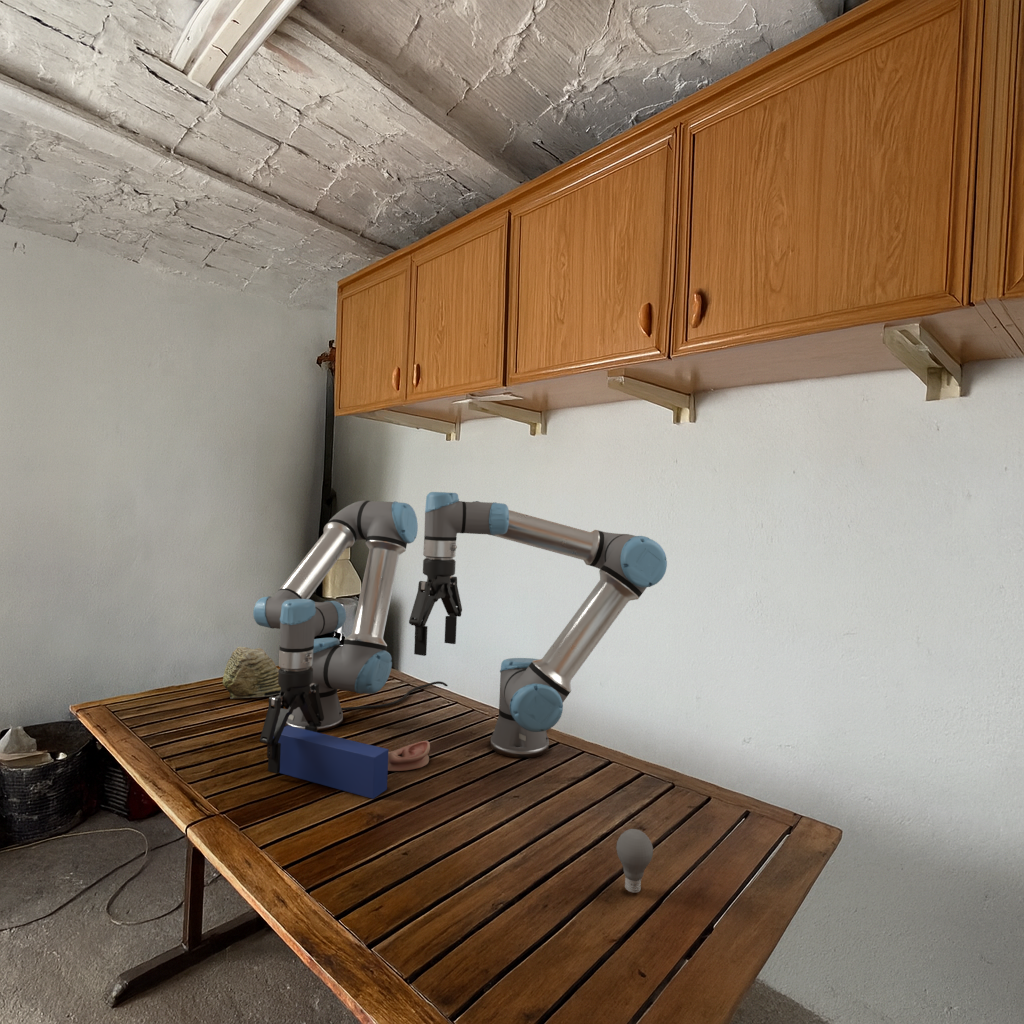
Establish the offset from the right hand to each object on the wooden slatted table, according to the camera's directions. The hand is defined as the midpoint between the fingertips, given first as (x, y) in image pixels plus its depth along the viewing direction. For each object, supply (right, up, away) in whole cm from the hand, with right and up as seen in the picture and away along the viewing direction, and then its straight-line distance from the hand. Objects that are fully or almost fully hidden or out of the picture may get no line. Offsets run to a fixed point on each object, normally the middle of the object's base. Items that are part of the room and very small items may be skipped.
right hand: (435, 648), depth 148 cm
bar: (-24, -28, -6) cm, 37 cm away
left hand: (-33, -26, -2) cm, 42 cm away
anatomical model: (-9, -28, +5) cm, 30 cm away
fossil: (-63, -25, +50) cm, 84 cm away
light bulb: (+38, -31, -42) cm, 65 cm away
